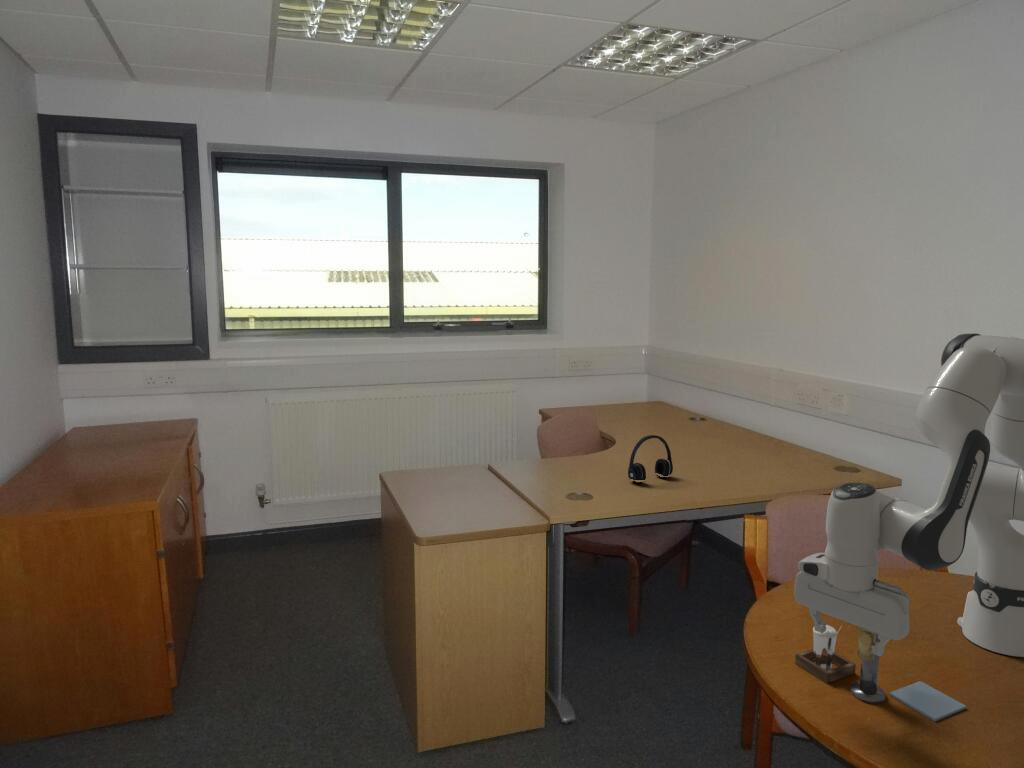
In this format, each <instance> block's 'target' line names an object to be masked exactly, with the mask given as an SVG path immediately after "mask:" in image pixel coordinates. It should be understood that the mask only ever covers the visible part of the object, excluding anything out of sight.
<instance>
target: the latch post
mask: <svg viewBox="0 0 1024 768" xmlns="http://www.w3.org/2000/svg"><path fill="white" fill-rule="evenodd" d="M880 657H881V656H877V655H875V654H874V659H873V660H872V661H867V660H863V659H861V658H860V659H861V660H860V661H861V662H860V673H859V681H854V682H852V683H851V684H850V690H849V691H850V693H851V695H852V696H853V697H854V698H856V699H858V700H859V701H862V702H864V703H868V704H882V703H883V702H885V701H886V692H885V691H884V689H883V688H882V687H881V686H879V685H878V680H879V668H880Z"/></svg>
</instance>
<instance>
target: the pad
mask: <svg viewBox="0 0 1024 768" xmlns="http://www.w3.org/2000/svg"><path fill="white" fill-rule="evenodd" d="M888 693H889V694H888V695H889V696H890V697H892V698H893V699H895V700H897V701H899V702H901V703H902V704H904V705H906V706H908V707H909V708H911V709H912V710H915V711H916V713H917V712H918V713H919V714H921V715H923V716H925V717H926V718H928V719H929V720H931V721H933V722H937V721H939V720H942V719H944V718H946V717H949V716H951V715H953V714H956V713H959V712H961V711H963V710H965V709H967V705H965V704H964V703H962V702H960V701H958V700H956V699H954V698H952V697H950V696H949V695H947V694H945V693H944V692H942V691H940V690H937V689H935V688H934V687H932V686H930V685H929V684H927V683H925V682H923V681H922V680H919V681H917V682H914V683H912V684H909V685H906V686H904V687H900V688H899V689H896V690H893V691H890V692H888Z"/></svg>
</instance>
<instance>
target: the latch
mask: <svg viewBox="0 0 1024 768" xmlns="http://www.w3.org/2000/svg"><path fill="white" fill-rule="evenodd" d="M858 633H859V634H858V635H859V636H858V646H857V647H858V649H857V657H859V658H860V659H863V660H867V661H872V660H873V659H874V654H872V653H871V650H872V649H871V645H872V644H875V642H880V641H881V640H880V639H878V634H877V633H875V632H872V631H869V630H867V629H864V628H861V627H859V632H858Z"/></svg>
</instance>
